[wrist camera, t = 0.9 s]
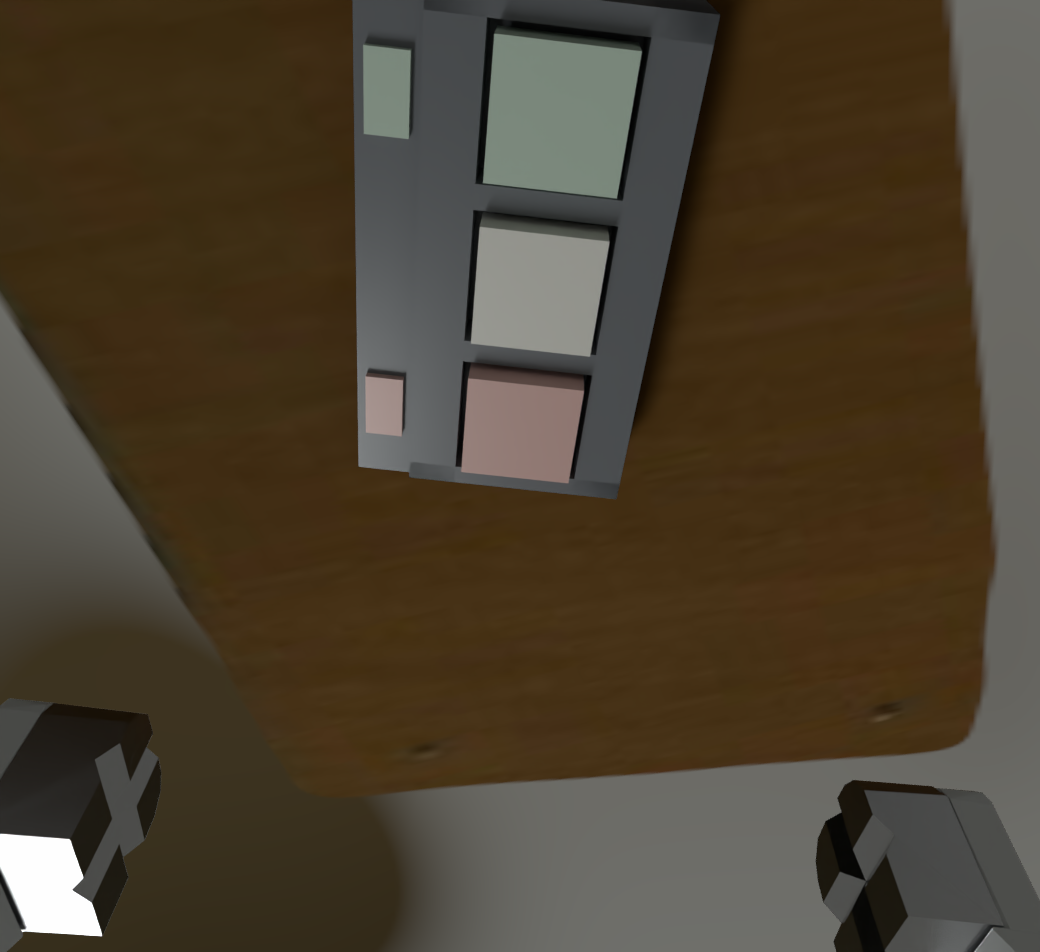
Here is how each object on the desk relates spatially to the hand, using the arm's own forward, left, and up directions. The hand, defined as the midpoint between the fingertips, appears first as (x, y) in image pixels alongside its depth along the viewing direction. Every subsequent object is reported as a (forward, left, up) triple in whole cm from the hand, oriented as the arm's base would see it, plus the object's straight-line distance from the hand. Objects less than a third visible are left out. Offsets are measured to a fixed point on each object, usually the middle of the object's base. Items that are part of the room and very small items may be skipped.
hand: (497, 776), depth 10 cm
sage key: (0, +1, -34) cm, 34 cm away
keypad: (+8, -1, -38) cm, 39 cm away
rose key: (+16, +1, -34) cm, 38 cm away
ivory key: (+8, +1, -34) cm, 35 cm away
